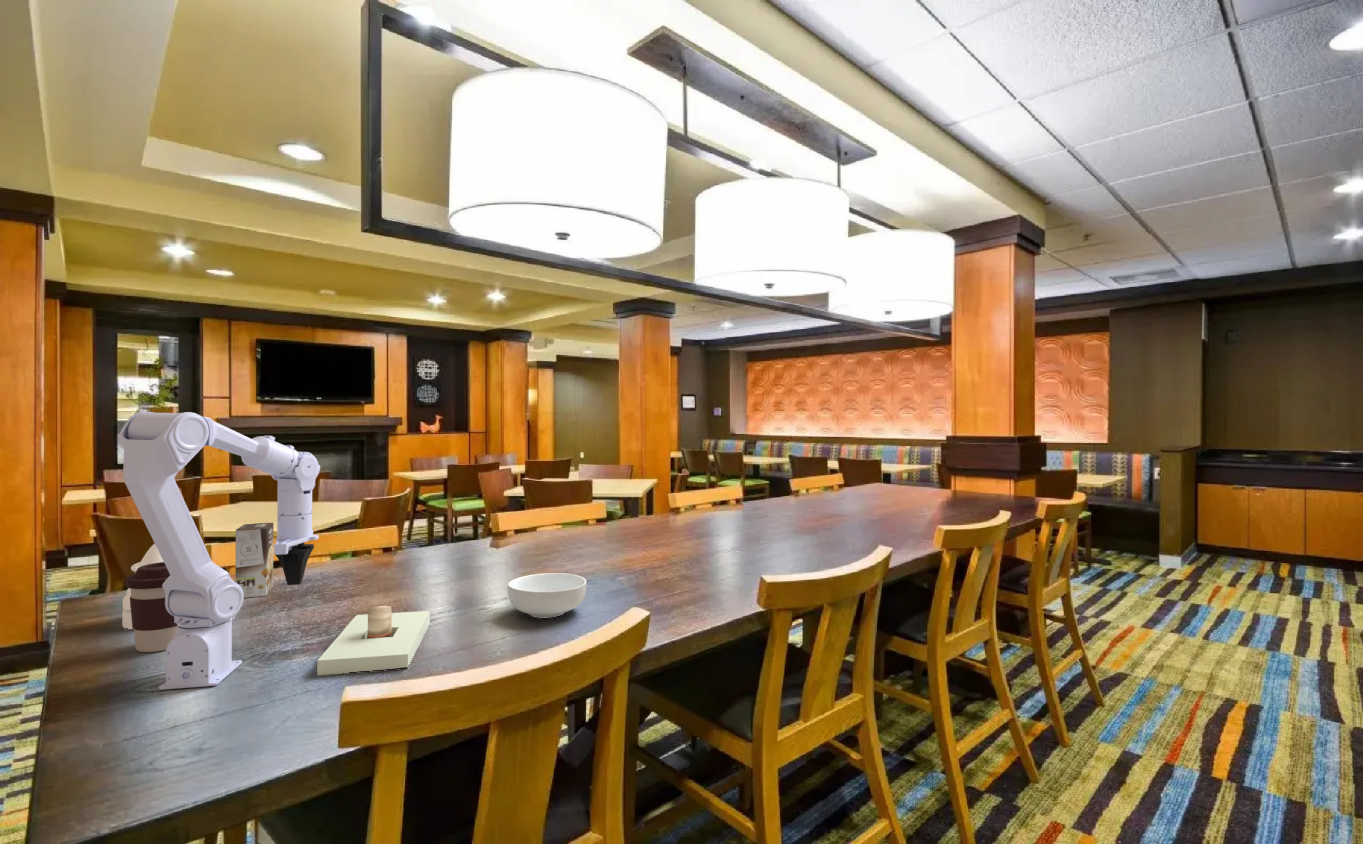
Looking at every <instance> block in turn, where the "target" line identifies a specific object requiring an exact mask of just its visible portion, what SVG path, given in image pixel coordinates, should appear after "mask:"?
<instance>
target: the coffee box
mask: <svg viewBox="0 0 1363 844" xmlns="http://www.w3.org/2000/svg"><path fill="white" fill-rule="evenodd" d="M234 576H235V578H234V579H235V581H234V582H235V583H237V584H239V585H240V586H241V588H242V590H243V593H244V598H245V599H246V598H254V597H266V596H267V595H268V594H269V592H270V591H271V590H272V588H273V587H274V522H257V523H256V522H255V523H246V524H243V525H241V526H239V527H238V528H236V529H235V575H234Z"/></svg>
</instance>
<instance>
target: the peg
mask: <svg viewBox="0 0 1363 844" xmlns="http://www.w3.org/2000/svg"><path fill="white" fill-rule="evenodd" d="M392 613H393V611H392V606H388V605H378V606H374V607H370V608H369V609H368V610H367V614H368V639H370V638H385V637H391V633H392Z"/></svg>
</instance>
